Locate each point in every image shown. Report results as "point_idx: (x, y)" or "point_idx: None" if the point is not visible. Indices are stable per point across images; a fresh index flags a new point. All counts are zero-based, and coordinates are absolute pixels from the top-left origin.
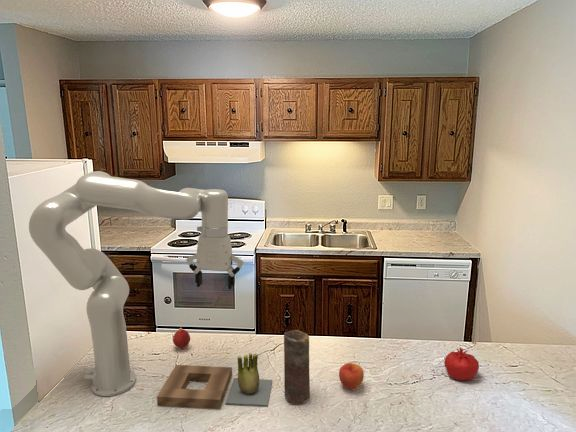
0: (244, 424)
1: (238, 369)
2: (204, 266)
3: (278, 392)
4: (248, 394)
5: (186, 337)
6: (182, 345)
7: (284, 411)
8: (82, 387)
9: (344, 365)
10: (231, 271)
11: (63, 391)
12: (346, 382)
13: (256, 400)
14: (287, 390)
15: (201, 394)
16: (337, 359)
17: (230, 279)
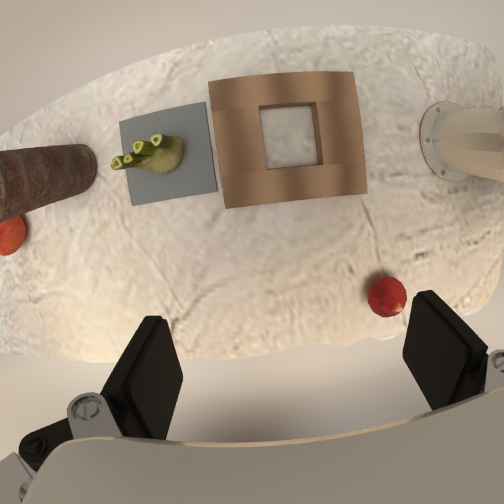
0: (150, 64)
1: (170, 136)
2: (489, 437)
3: (112, 172)
4: None
5: (377, 295)
6: (379, 279)
7: (90, 121)
8: None
9: (5, 242)
10: (76, 437)
11: None
12: None
13: (142, 127)
14: (76, 147)
15: (257, 89)
16: (56, 304)
17: (114, 368)
